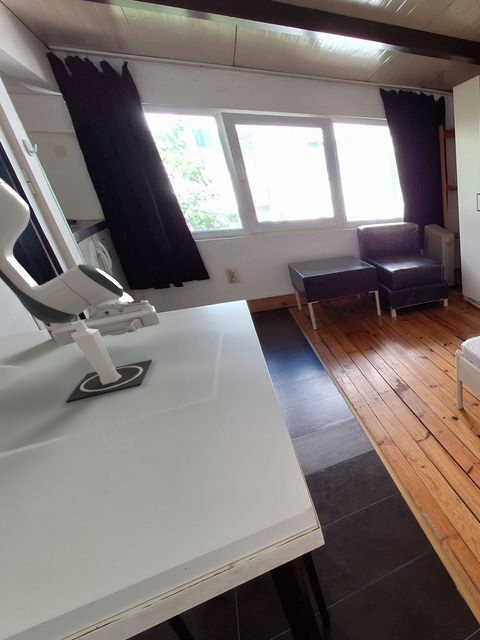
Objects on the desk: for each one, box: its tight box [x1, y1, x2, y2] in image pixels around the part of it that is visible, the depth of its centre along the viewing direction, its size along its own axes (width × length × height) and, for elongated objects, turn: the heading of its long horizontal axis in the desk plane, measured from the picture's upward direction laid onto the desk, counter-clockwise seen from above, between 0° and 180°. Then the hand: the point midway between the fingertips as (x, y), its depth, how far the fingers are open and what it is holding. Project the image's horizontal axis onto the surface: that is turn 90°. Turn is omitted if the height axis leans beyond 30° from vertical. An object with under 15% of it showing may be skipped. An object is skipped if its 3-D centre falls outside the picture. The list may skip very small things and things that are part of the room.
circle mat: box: [66, 359, 153, 403], centre depth 88 cm, size 13×14×1 cm
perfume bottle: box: [71, 319, 122, 385], centre depth 83 cm, size 5×4×15 cm
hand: (106, 334), depth 88 cm, fingers open, 8 cm apart
